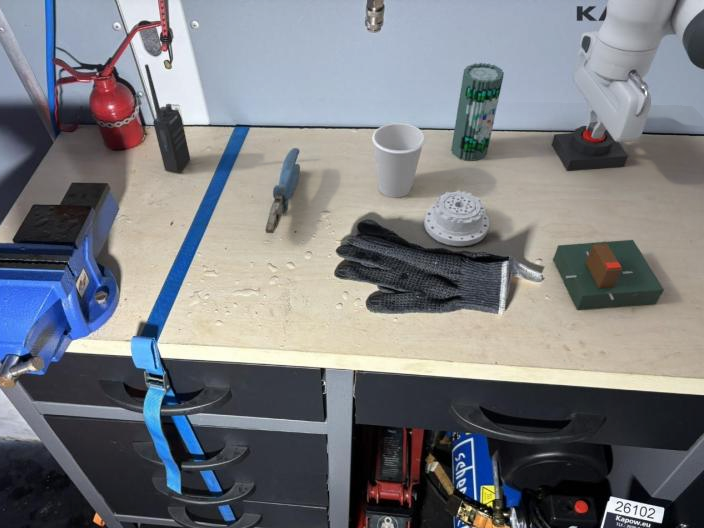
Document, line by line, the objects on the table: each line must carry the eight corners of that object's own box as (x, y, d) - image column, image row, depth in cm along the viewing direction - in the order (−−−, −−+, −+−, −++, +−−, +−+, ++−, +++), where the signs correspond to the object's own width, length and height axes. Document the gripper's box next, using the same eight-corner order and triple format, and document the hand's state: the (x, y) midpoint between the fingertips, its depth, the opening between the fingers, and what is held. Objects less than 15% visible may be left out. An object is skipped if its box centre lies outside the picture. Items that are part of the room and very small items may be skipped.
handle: (585, 262, 85) (593, 243, 82) (599, 261, 85) (608, 242, 82) (598, 288, 82) (607, 269, 79) (613, 287, 82) (623, 268, 79)
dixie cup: (426, 198, 101) (433, 147, 93) (378, 206, 100) (381, 155, 93) (410, 169, 106) (415, 118, 99) (364, 177, 106) (366, 126, 98)
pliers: (277, 247, 95) (273, 219, 90) (263, 246, 95) (260, 217, 90) (303, 171, 107) (301, 143, 103) (291, 170, 108) (289, 142, 103)
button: (597, 136, 106) (600, 128, 105) (605, 148, 104) (608, 139, 102) (577, 138, 106) (580, 129, 105) (584, 150, 104) (587, 141, 102)
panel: (625, 254, 90) (633, 238, 88) (659, 310, 83) (668, 294, 80) (545, 260, 90) (550, 244, 88) (571, 316, 83) (578, 301, 80)
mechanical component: (432, 201, 100) (416, 239, 94) (435, 179, 97) (419, 217, 91) (493, 213, 98) (481, 254, 92) (498, 191, 94) (486, 232, 88)
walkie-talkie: (180, 175, 109) (154, 69, 94) (164, 171, 109) (136, 66, 95) (193, 160, 111) (170, 55, 97) (177, 156, 112) (152, 52, 97)
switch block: (606, 140, 109) (613, 121, 106) (624, 166, 104) (632, 147, 101) (551, 144, 109) (557, 125, 106) (566, 171, 104) (573, 151, 101)
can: (467, 164, 107) (481, 85, 95) (445, 148, 110) (456, 70, 99) (493, 153, 108) (510, 74, 97) (471, 137, 112) (485, 59, 101)
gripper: (673, 89, 86) (637, 169, 97) (615, 26, 100) (590, 102, 110) (629, 92, 86) (598, 171, 97) (578, 29, 100) (555, 104, 110)
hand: (593, 134), depth 104 cm, fingers closed, pressing on button
